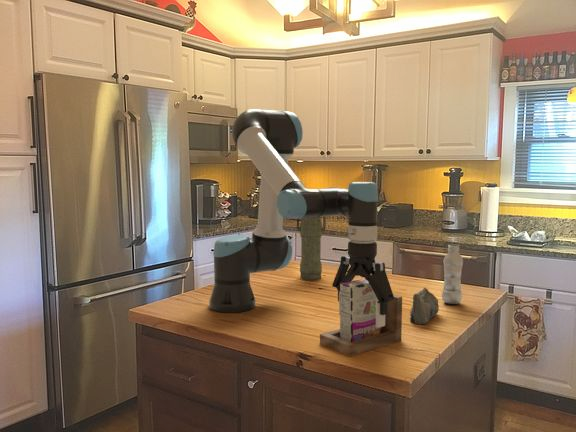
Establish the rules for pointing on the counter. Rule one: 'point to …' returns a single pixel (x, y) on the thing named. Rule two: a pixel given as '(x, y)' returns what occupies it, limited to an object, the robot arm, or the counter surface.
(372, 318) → the candy bar box
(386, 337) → the wooden display stand
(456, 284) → the plastic bottle
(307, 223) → the thermos
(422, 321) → the mineral rock
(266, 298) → the counter surface
